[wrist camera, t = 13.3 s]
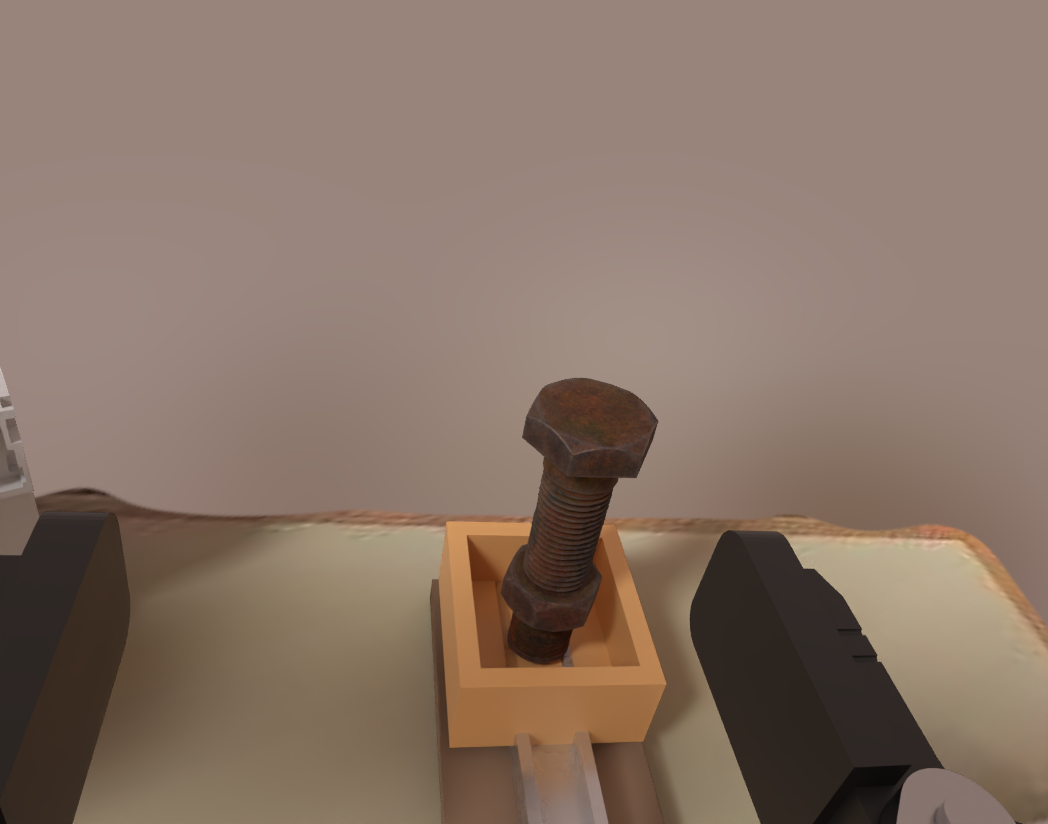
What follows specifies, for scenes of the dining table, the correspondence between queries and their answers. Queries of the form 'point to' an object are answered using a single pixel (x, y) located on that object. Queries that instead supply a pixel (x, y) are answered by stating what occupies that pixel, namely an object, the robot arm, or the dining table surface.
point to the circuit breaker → (14, 483)
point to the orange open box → (541, 688)
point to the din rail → (555, 776)
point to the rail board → (487, 779)
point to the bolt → (571, 507)
